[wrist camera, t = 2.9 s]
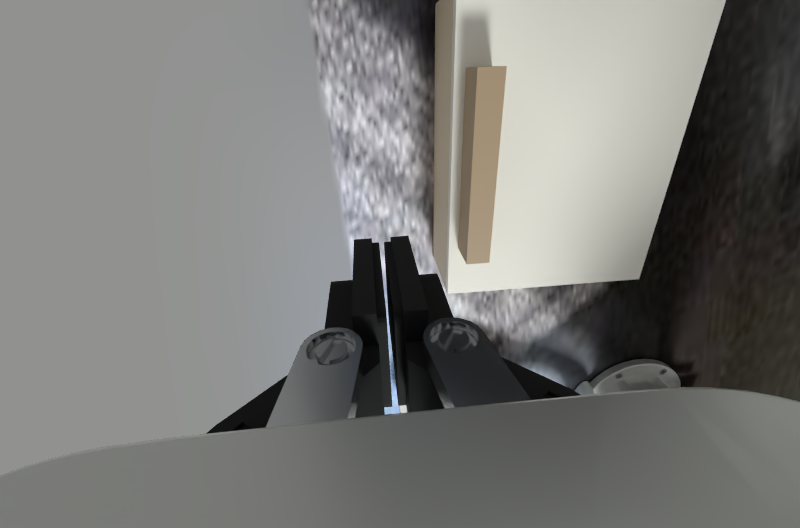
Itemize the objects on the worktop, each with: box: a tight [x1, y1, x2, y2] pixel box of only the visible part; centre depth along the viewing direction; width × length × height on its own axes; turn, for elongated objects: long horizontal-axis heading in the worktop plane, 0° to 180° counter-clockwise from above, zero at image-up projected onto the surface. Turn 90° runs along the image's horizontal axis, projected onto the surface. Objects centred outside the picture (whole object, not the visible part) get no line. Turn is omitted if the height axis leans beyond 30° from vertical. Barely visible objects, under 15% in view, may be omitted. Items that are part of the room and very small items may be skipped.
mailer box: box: [433, 0, 453, 288], centre depth 29 cm, size 16×20×6 cm
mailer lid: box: [446, 0, 726, 294], centre depth 25 cm, size 16×20×3 cm
